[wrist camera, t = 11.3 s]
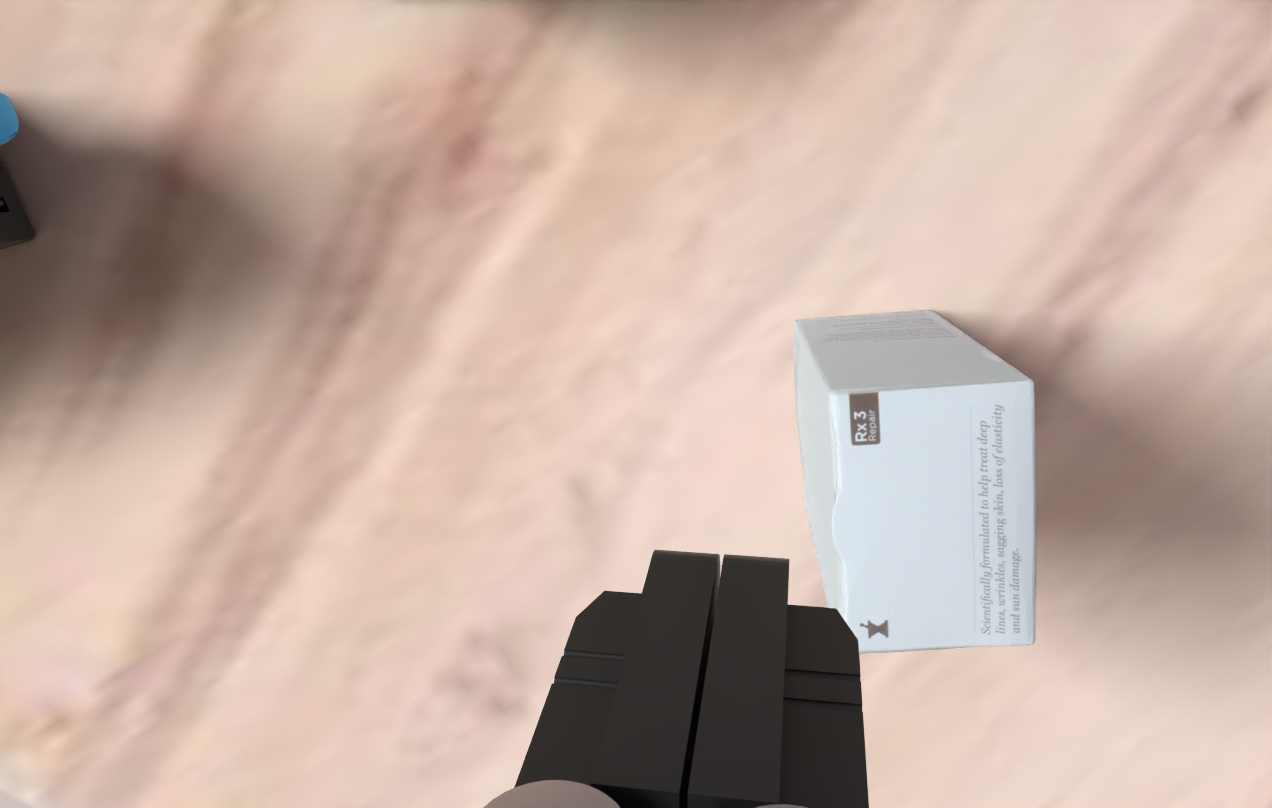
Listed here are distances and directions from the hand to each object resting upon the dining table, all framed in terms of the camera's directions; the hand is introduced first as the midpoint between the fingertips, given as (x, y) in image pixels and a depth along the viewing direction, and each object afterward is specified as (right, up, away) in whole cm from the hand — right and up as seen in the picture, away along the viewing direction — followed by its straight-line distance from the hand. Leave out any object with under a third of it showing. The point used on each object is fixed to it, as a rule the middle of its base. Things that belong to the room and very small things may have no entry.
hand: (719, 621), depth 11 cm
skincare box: (+9, +3, +31) cm, 33 cm away
